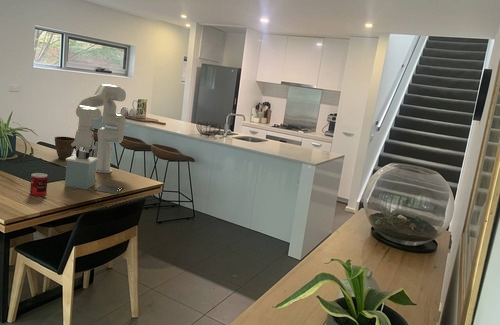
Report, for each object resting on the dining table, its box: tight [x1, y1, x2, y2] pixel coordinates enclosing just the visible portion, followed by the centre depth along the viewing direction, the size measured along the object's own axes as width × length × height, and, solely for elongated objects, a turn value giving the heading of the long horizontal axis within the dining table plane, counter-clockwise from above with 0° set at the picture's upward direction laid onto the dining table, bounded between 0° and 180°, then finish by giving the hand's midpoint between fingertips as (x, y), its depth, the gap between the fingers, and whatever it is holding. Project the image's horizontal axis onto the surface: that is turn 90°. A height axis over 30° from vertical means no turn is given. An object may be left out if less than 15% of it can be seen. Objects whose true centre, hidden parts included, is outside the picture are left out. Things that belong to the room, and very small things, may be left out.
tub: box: [64, 160, 97, 190], centre depth 235 cm, size 13×13×16 cm
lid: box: [65, 149, 98, 164], centre depth 233 cm, size 14×14×6 cm
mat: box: [93, 183, 123, 195], centre depth 238 cm, size 14×14×1 cm
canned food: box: [29, 172, 49, 197], centre depth 208 cm, size 8×8×11 cm
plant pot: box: [54, 136, 75, 161], centre depth 290 cm, size 15×15×16 cm
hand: (82, 157), depth 233 cm, fingers open, 4 cm apart
